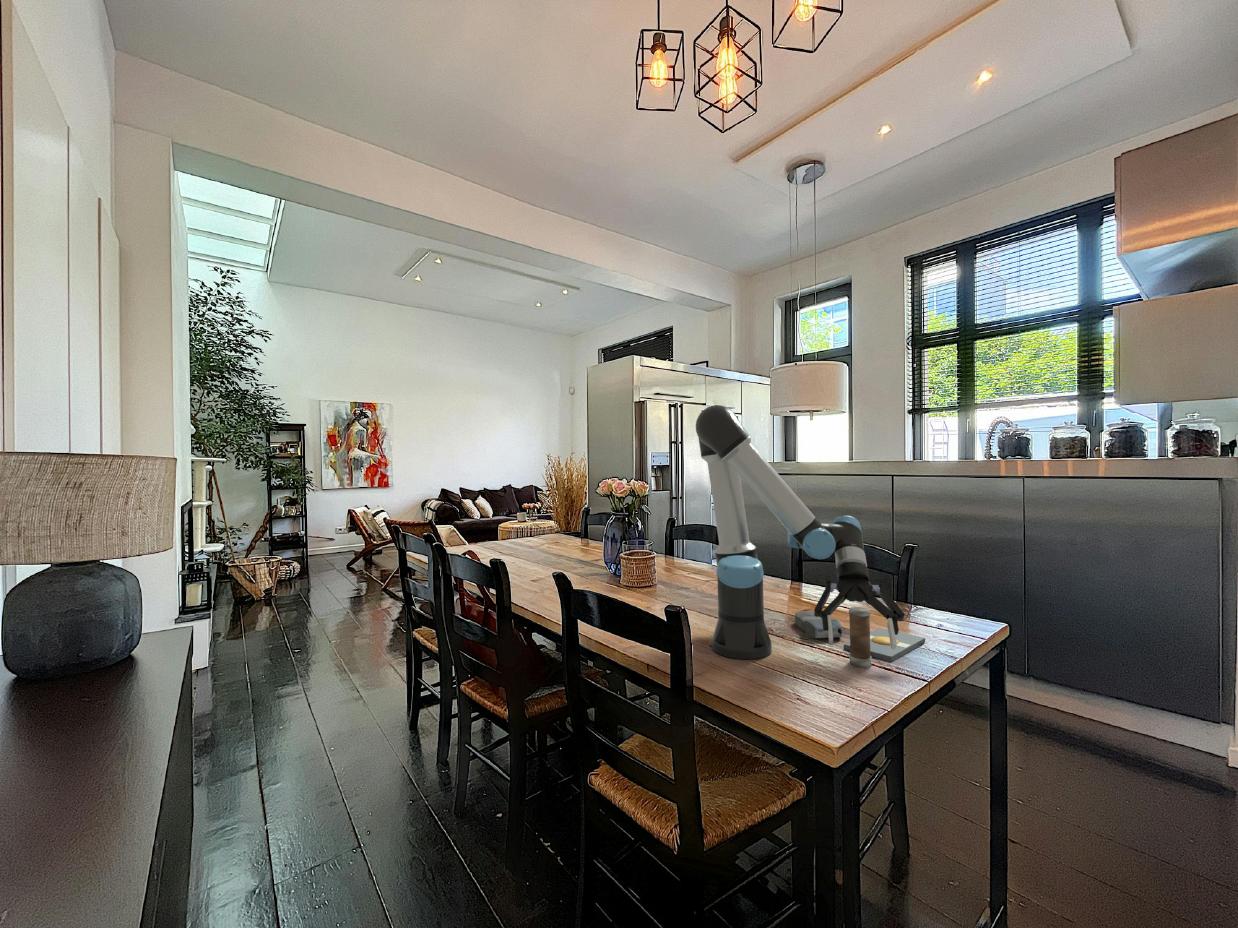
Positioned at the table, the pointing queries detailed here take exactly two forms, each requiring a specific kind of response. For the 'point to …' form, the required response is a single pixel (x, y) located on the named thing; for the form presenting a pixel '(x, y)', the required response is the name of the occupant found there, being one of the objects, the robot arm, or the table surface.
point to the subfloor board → (882, 645)
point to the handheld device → (816, 625)
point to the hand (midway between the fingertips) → (862, 644)
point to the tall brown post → (860, 637)
